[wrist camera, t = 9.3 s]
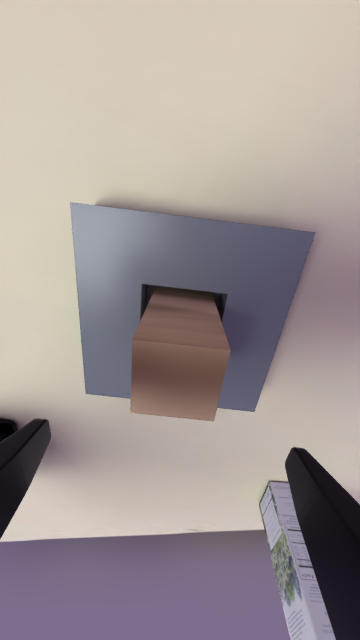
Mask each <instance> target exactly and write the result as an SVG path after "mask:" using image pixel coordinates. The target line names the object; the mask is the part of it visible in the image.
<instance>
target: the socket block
mask: <svg viewBox="0 0 360 640" xmlns="http://www.w3.org/2000/svg"><path fill="white" fill-rule="evenodd" d="M70 208H71V220H72V232H73V244H74V256H75V269H76V281H77V293H78V305H79V317H80V329H81V342H82V354H83V366H84V378H85V390H86V394H92V395H102V396H111V397H121V398H130V399H131V365H132V339H133V336H134V334H135V332H136V330H137V328H138V325H139V323H140V321H141V319H142V317H143V314H144V312H145V310H146V308H147V306H148V303H149V301H150V299H151V297H152V295H153V292H154V290H155V288H156V286H165V287H174V288H182V289H191V290H199V291H208V292H212V295H213V298H214V301H215V304H216V307H217V310H218V313H219V316H220V319H221V322H222V325H223V328H224V332H225V335H226V338H227V341H228V344H229V347H230V350H231V351H230V355H229V360H228V364H227V368H226V372H225V376H224V381H223V385H222V389H221V393H220V397H219V402H218V406H217V408H223V409H233V410H242V411H251V412H254V411H255V408H256V405H257V403H258V400H259V397H260V394H261V391H262V388H263V385H264V382H265V379H266V376H267V373H268V370H269V367H270V364H271V361H272V358H273V355H274V352H275V350H276V347H277V344H278V341H279V338H280V335H281V332H282V329H283V326H284V323H285V320H286V317H287V314H288V311H289V308H290V305H291V302H292V299H293V297H294V294H295V291H296V288H297V285H298V282H299V279H300V276H301V273H302V270H303V267H304V264H305V261H306V258H307V255H308V252H309V249H310V246H311V244H312V241H313V238H314V235H315V232H307V231H299V230H290V229H282V228H274V227H266V226H258V225H250V224H242V223H234V222H226V221H218V220H210V219H201V218H193V217H185V216H177V215H169V214H161V213H153V212H145V211H137V210H129V209H120V208H112V207H104V206H96V205H88V204H80V203H72V202H70Z"/></svg>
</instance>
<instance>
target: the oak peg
mask: <svg viewBox="0 0 360 640" xmlns="http://www.w3.org/2000/svg"><path fill="white" fill-rule="evenodd" d="M230 351H231V350H230V347H229V344H228V341H227V338H226V335H225V332H224V328H223V325H222V322H221V319H220V316H219V313H218V310H217V307H216V304H215V301H214V298H213V295H212V292H208V291H199V290H191V289H182V288H174V287H165V286H156V288H155V290H154V292H153V295H152V297H151V299H150V301H149V303H148V306H147V308H146V310H145V312H144V314H143V317H142V319H141V321H140V323H139V325H138V328H137V330H136V332H135V334H134V336H133V339H132V365H131V411H130V413H139V414H149V415H158V416H168V417H178V418H188V419H197V420H207V421H214V419H215V414H216V410H217V406H218V402H219V397H220V393H221V389H222V385H223V381H224V376H225V372H226V368H227V364H228V360H229V355H230Z"/></svg>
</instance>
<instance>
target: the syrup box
mask: <svg viewBox="0 0 360 640" xmlns="http://www.w3.org/2000/svg"><path fill="white" fill-rule="evenodd" d="M259 507H260V512H261V516H262V520H263V524H264V529H265V533H266V537H267V541H268V545H269V550H270V554H271V558H272V563H273V567H274V571H275V576H276V580H277V584H278V588H279V592H280V597H281V601H282V605H283V609H284V613H285V618H286V622H287V626H288V630H289V635H290V639H291V640H336V639H335V636H334V633H333V629H332V626H331V623H330V620H329V617H328V614H327V611H326V608H325V604H324V601H323V598H322V595H321V592H320V589H319V586H318V582H317V579H316V576H315V573H314V570H313V567H312V564H311V561H310V557H309V554H308V551H307V548H306V545H305V542H304V539H303V535H302V532H301V529H300V526H299V523H298V519H297V516H296V512H295V508H294V504H293V499H292V495H291V490H290V486H289V483H285V482H269V483H268V485H267V488H266V490H265V492H264V495H263V497H262V499H261V501H260V504H259Z"/></svg>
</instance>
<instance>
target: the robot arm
mask: <svg viewBox="0 0 360 640" xmlns="http://www.w3.org/2000/svg"><path fill="white" fill-rule="evenodd" d="M50 439H51V432H50V426H49V421H48V420H47V419H39V418H37V419H34V420H32V421H31V422H30V423H28V424H27V425H25V426H24V427H22V428H21V429H19V430H18V431H17V428H16V424H15V423H14V422H13V421H10V420H0V539H1V537H2V535H3V533H4V532H5V530H6V528H7V526H8V524H9V523H10V521H11V519H12V517H13V515H14V514H15V512H16V510H17V508H18V506H19V505H20V503H21V501H22V499H23V498H24V496H25V494H26V492H27V490H28V488H29V486H30V484H31V482H32V480H33V477H34V475H35V473H36V471H37V469H38V466H39V464H40V462H41V460H42V457H43V455H44V453H45V451H46V448H47V446H48V444H49V442H50ZM285 468H286V473H287V477H288V482H289V486H290V490H291V495H292V499H293V504H294V508H295V512H296V516H297V519H298V523H299V526H300V529H301V532H302V535H303V539H304V542H305V545H306V548H307V551H308V554H309V557H310V561H311V564H312V567H313V570H314V573H315V576H316V579H317V582H318V586H319V589H320V592H321V595H322V598H323V601H324V604H325V608H326V611H327V614H328V617H329V620H330V623H331V626H332V629H333V633H334V636H335V639H336V640H360V504H359V503H358V502H357V501H356V500H355V499H354V498H353V497H352V496H351V495H350V494H349V493H348V492H347V491H346V490H345V489H344V488H343V487H342V486H341V485H340V484H339V483H338V482H337V481H336V480H335V479H334V478H333V477H332V476H331V475H330V474H329V473H328V472H327V471H326V470H325V469H324V468H323V467H322V466H321V465H320V464H319V463H318V462H317V461H316V460H315V459H314V458H313V457H312V455H311V454H310V453H309V452H308V451H307V450H305V449H303V448H297V447H293V448H292V449H291V451H290V453H289V455H288V457H287V459H286V461H285Z"/></svg>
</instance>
